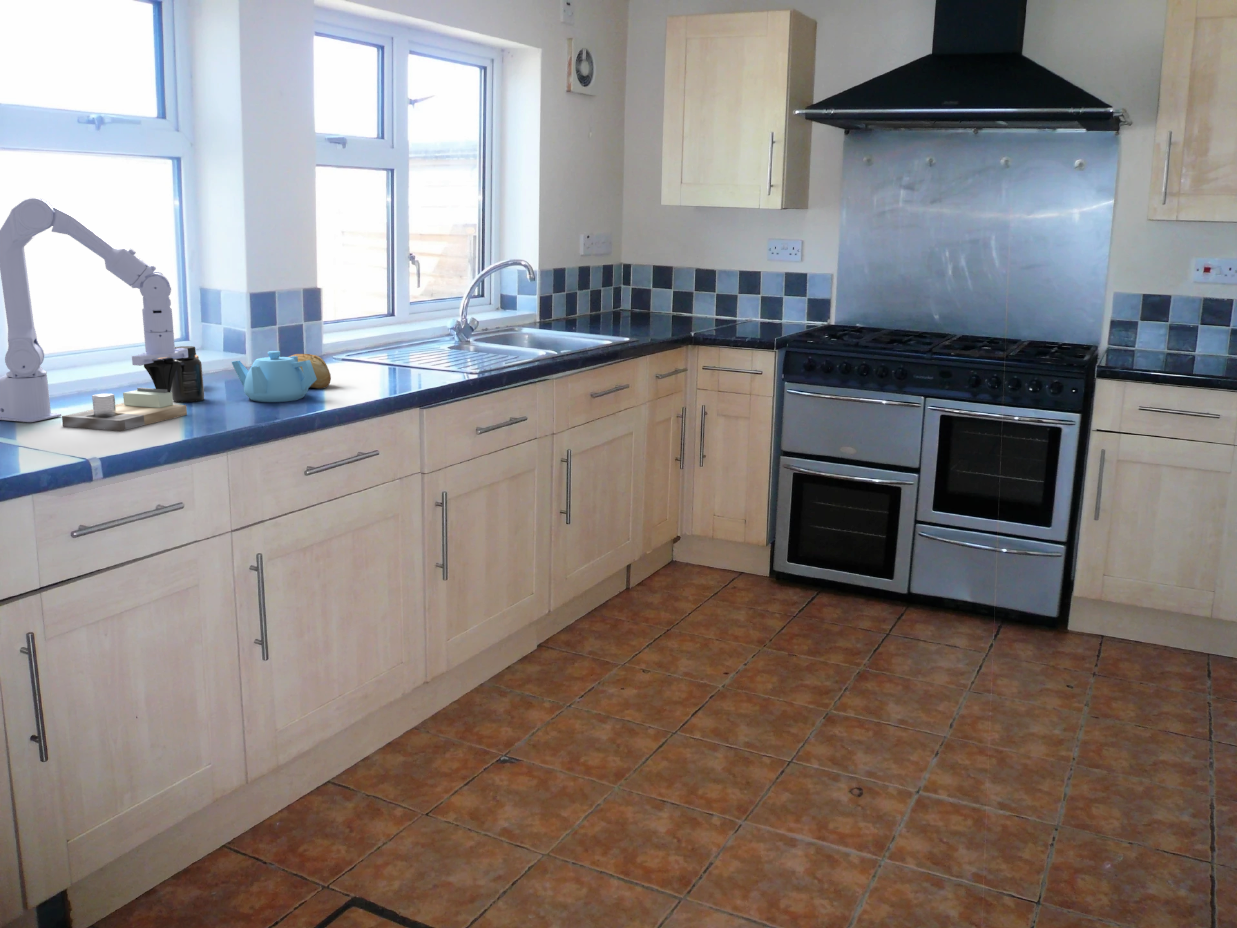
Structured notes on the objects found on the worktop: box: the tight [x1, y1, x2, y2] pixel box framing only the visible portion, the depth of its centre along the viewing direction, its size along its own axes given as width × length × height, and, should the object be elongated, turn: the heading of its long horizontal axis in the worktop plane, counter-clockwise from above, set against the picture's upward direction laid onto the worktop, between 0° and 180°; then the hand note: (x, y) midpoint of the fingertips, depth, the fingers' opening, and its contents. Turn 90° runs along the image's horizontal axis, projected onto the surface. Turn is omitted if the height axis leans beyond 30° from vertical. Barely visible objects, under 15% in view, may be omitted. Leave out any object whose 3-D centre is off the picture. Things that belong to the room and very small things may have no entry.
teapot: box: [231, 350, 317, 403], centre depth 254 cm, size 15×15×11 cm
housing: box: [61, 402, 188, 432], centre depth 227 cm, size 14×19×2 cm
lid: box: [122, 387, 174, 408], centre depth 232 cm, size 9×4×3 cm, turn 71°
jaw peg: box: [91, 393, 116, 418], centre depth 221 cm, size 4×4×6 cm
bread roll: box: [288, 353, 332, 389], centre depth 271 cm, size 10×15×8 cm, turn 73°
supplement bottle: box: [171, 345, 205, 403], centre depth 250 cm, size 7×7×12 cm
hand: (164, 395), depth 237 cm, fingers closed
